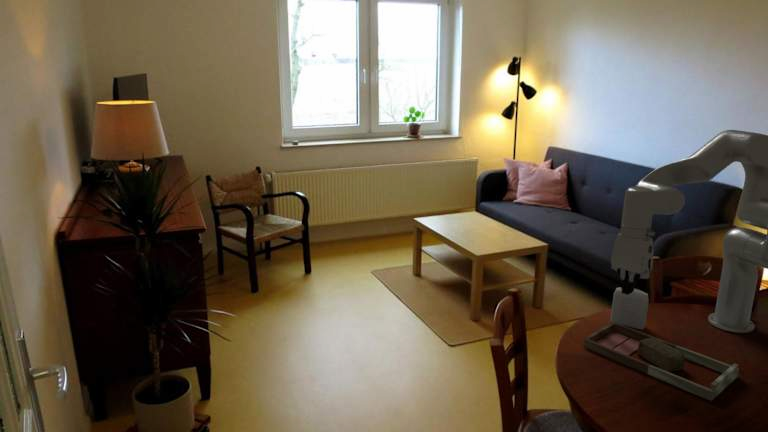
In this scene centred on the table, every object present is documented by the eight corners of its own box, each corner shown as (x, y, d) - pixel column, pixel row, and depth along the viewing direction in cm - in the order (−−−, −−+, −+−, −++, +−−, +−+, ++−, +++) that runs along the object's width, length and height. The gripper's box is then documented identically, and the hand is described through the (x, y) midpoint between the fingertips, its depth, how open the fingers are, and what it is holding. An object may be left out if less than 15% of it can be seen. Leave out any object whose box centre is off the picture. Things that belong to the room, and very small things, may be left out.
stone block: (669, 375, 150) (672, 358, 149) (634, 355, 161) (636, 338, 159) (685, 370, 153) (687, 353, 151) (649, 350, 163) (651, 334, 162)
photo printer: (645, 325, 177) (650, 289, 174) (644, 331, 174) (648, 294, 170) (611, 318, 183) (615, 283, 179) (609, 323, 179) (613, 287, 176)
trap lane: (612, 329, 175) (613, 317, 174) (737, 376, 149) (740, 363, 148) (582, 346, 165) (583, 334, 164) (711, 401, 139) (713, 386, 137)
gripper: (668, 235, 152) (659, 297, 156) (616, 223, 163) (609, 281, 168) (655, 240, 147) (646, 305, 152) (602, 227, 158) (595, 288, 163)
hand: (627, 292), depth 160 cm, fingers closed
